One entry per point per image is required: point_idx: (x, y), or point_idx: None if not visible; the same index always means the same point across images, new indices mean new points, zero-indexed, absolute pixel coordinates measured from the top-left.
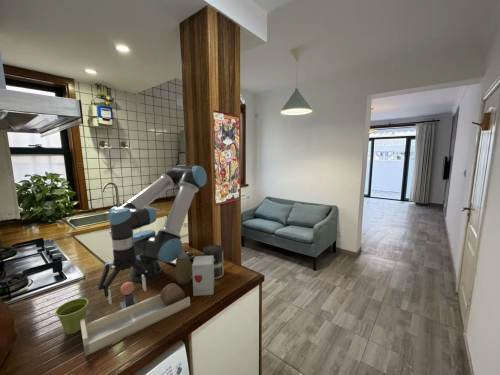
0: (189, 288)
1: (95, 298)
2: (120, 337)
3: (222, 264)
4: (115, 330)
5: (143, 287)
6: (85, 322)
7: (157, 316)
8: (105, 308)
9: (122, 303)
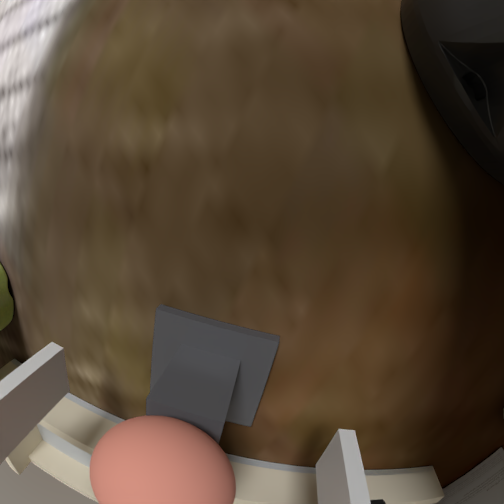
0: (476, 453)
1: (91, 64)
2: None
3: None
4: (92, 497)
5: (328, 469)
6: (5, 318)
7: None
8: (84, 259)
9: (170, 334)
